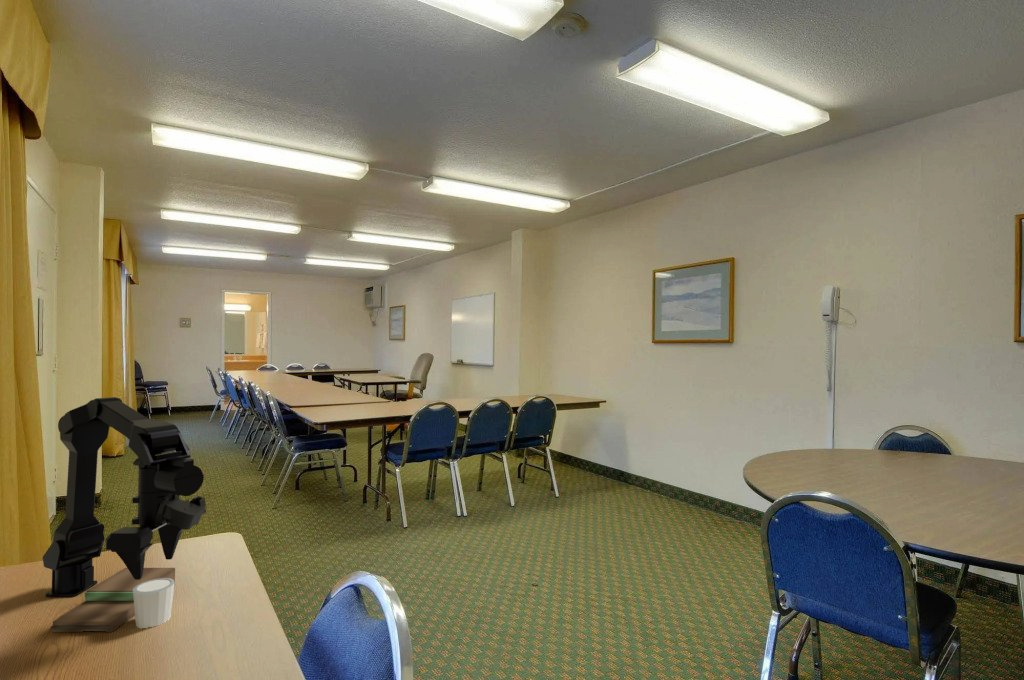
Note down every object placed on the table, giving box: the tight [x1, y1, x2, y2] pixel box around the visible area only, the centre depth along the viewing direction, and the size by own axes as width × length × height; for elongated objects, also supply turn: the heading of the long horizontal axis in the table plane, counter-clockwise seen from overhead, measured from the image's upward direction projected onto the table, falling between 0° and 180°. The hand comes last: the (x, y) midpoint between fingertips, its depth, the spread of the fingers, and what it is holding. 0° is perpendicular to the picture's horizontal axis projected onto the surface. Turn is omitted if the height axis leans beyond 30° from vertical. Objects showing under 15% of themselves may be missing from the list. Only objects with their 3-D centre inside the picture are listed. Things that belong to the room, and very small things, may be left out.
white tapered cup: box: [133, 578, 176, 629], centre depth 102 cm, size 7×7×7 cm
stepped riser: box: [50, 567, 176, 633], centre depth 107 cm, size 11×19×4 cm, turn 2°
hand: (154, 568), depth 102 cm, fingers open, 9 cm apart
